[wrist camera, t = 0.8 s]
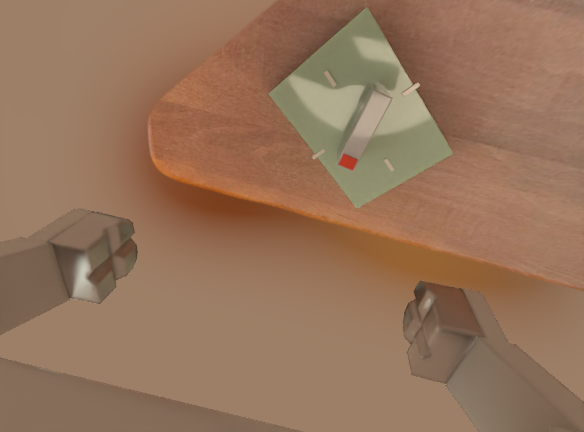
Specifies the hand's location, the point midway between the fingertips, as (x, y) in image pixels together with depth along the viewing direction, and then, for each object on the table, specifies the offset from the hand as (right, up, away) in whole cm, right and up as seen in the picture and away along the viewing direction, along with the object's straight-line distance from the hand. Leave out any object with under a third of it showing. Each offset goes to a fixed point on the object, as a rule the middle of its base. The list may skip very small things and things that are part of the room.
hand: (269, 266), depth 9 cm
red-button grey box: (+7, +9, +18) cm, 22 cm away
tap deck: (+7, +11, +21) cm, 25 cm away
